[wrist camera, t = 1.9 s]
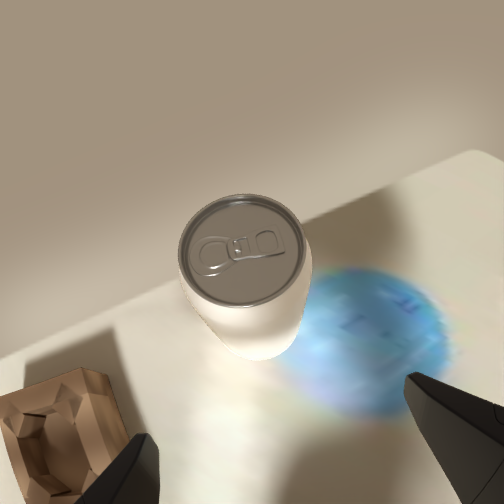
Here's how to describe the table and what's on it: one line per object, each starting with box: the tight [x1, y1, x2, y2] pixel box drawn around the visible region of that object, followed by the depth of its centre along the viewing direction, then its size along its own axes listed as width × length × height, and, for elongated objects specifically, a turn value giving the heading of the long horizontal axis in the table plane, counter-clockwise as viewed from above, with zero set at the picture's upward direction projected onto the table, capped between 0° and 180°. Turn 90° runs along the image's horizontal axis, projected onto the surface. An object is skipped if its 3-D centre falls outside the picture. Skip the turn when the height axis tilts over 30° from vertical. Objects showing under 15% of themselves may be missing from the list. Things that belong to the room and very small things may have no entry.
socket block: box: [0, 367, 130, 504], centre depth 17 cm, size 11×11×4 cm
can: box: [178, 194, 312, 360], centre depth 19 cm, size 6×6×12 cm
